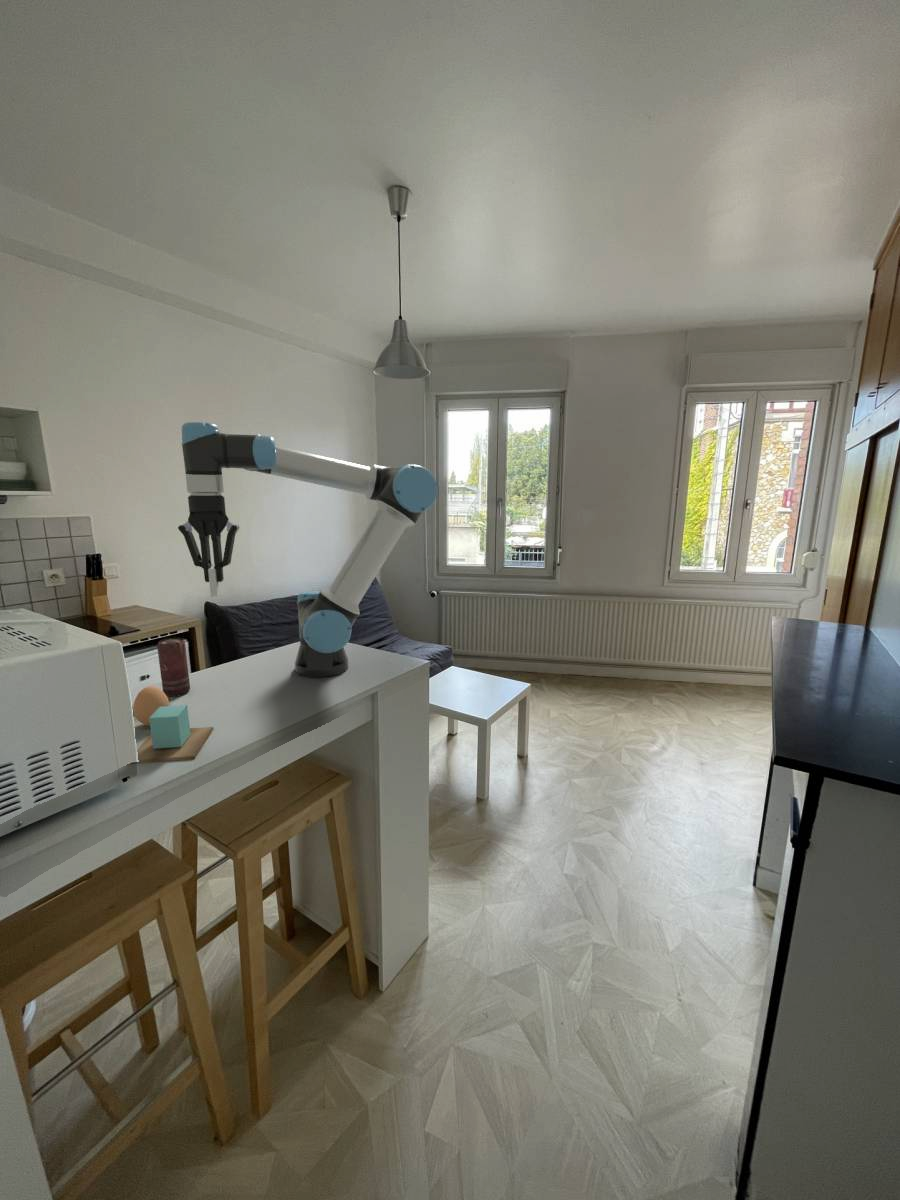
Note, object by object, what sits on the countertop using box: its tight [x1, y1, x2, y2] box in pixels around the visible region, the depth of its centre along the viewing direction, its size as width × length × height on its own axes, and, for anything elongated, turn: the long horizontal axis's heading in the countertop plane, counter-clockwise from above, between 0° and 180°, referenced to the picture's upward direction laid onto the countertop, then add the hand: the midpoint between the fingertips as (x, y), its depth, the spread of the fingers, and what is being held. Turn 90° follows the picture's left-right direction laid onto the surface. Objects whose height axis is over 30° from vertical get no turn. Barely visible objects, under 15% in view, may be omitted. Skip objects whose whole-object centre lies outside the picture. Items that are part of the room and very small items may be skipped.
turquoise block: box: [149, 704, 191, 749], centre depth 99 cm, size 5×5×7 cm
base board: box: [136, 726, 215, 764], centre depth 100 cm, size 12×12×1 cm
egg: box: [133, 685, 170, 727], centre depth 108 cm, size 7×7×9 cm
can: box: [156, 637, 191, 698], centre depth 124 cm, size 6×6×14 cm
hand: (215, 595), depth 117 cm, fingers closed
